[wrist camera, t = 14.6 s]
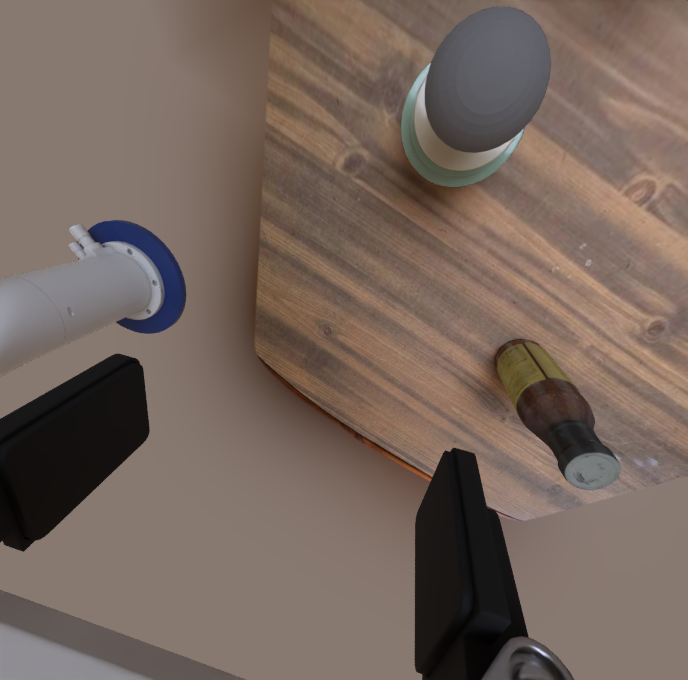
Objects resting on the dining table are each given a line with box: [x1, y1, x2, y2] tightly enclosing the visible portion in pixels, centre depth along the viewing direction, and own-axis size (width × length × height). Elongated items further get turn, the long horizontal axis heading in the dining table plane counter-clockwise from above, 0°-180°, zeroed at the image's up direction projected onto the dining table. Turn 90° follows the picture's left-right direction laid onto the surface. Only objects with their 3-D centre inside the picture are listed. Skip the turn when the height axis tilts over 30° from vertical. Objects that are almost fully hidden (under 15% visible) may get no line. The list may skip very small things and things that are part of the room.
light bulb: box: [425, 7, 551, 153], centre depth 19 cm, size 6×6×10 cm
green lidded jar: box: [401, 62, 525, 187], centre depth 30 cm, size 10×10×14 cm
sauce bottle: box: [495, 339, 621, 490], centre depth 36 cm, size 6×6×20 cm
